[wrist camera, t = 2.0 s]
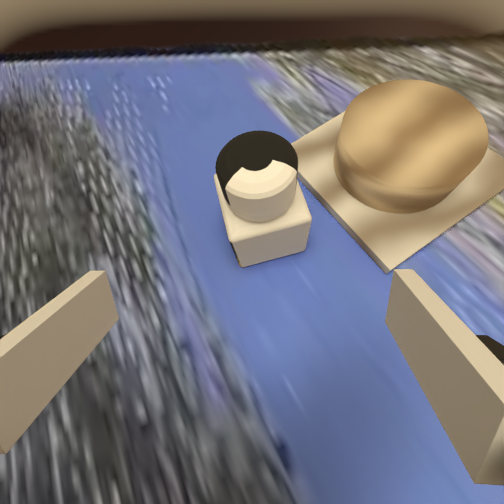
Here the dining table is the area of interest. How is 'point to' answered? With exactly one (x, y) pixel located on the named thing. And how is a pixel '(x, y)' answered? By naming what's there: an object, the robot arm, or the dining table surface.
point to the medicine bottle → (261, 197)
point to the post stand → (400, 166)
